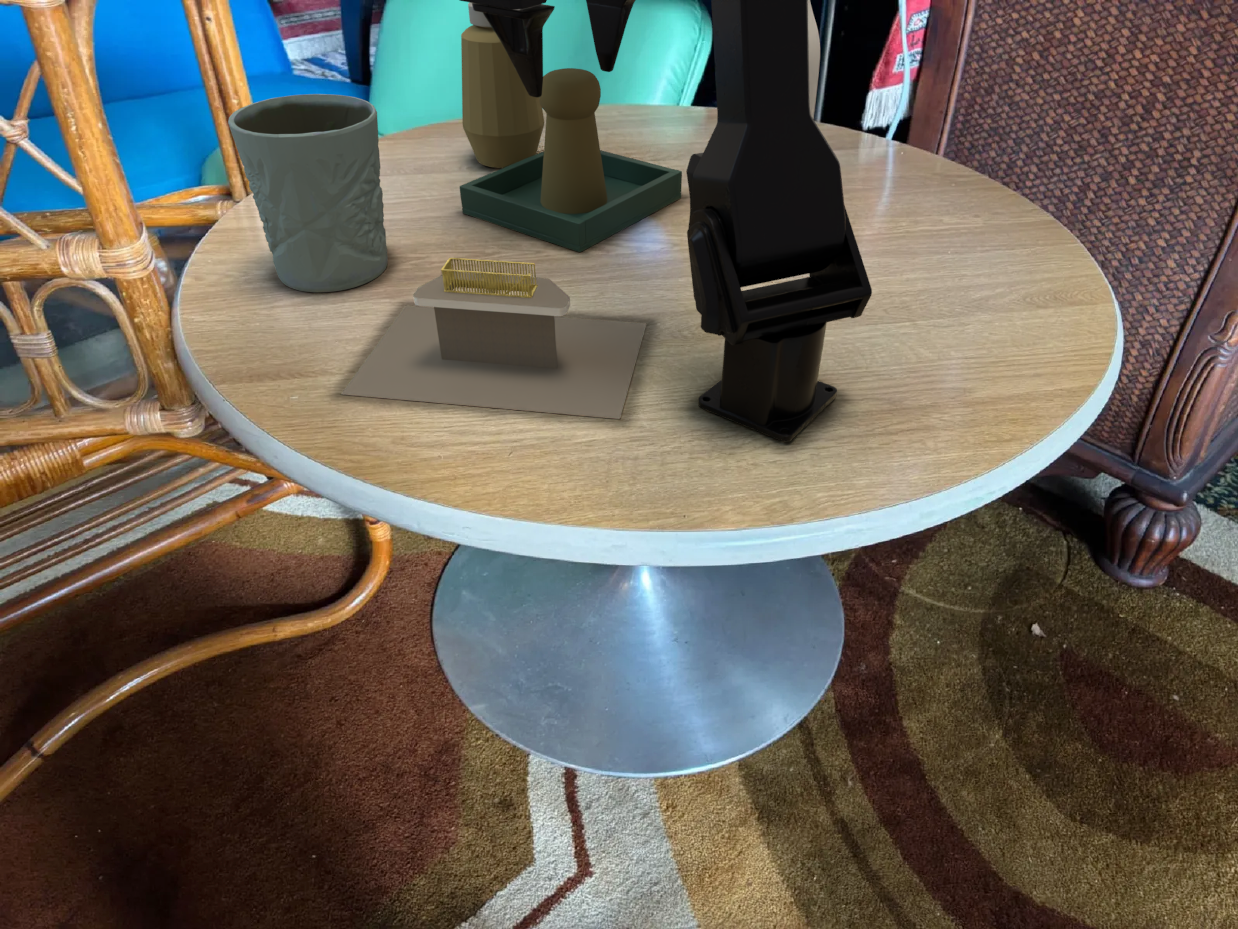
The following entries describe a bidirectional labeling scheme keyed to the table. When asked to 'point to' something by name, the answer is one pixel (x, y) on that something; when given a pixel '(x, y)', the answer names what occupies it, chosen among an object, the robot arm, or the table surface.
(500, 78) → the squeeze bottle
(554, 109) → the brown game pawn
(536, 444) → the table surface
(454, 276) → the platform
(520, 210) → the serving tray
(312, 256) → the embossed green cup
